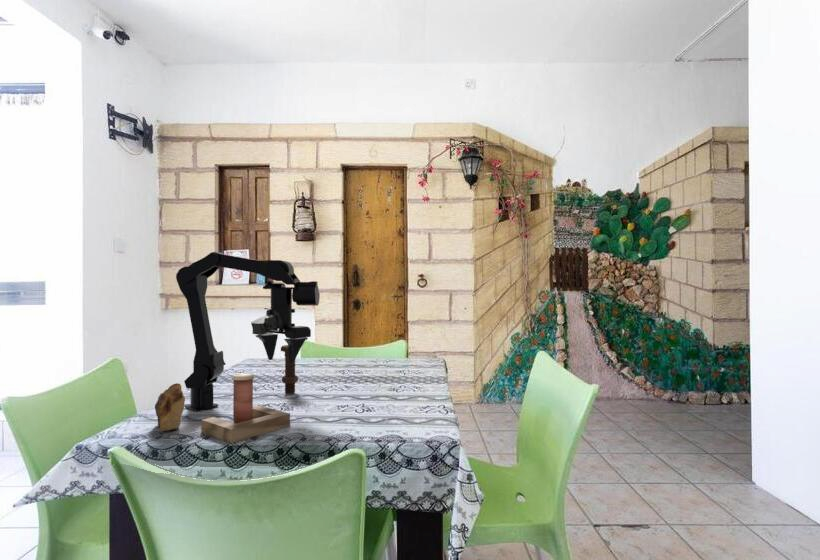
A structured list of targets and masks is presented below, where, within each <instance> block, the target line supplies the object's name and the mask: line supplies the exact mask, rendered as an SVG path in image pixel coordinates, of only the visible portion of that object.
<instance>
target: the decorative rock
mask: <svg viewBox="0 0 820 560" xmlns="http://www.w3.org/2000/svg"><path fill="white" fill-rule="evenodd" d="M182 390H183V389H182V385H181V383H173V384H172V385H170V386H169V387H168V389H165V390H164V391H163V392H161V393H160V394H159V395H158V398H157V401H156V403H155V405H154V410H155V414H156V418H157V427H158V429H159V430H160V431H161V432H165V431H172V430H175V429H177V428H179V427H181V423H182V415H183V413H184V409H185V402H186V397H185V395H184V392H183V391H182Z"/></svg>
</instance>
